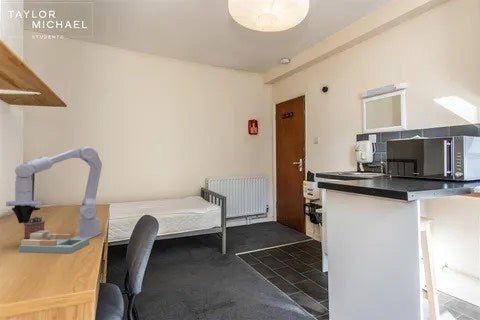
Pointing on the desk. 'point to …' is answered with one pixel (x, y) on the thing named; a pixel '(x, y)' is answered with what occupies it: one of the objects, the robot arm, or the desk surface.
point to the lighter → (33, 226)
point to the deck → (54, 244)
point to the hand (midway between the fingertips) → (23, 222)
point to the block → (40, 235)
